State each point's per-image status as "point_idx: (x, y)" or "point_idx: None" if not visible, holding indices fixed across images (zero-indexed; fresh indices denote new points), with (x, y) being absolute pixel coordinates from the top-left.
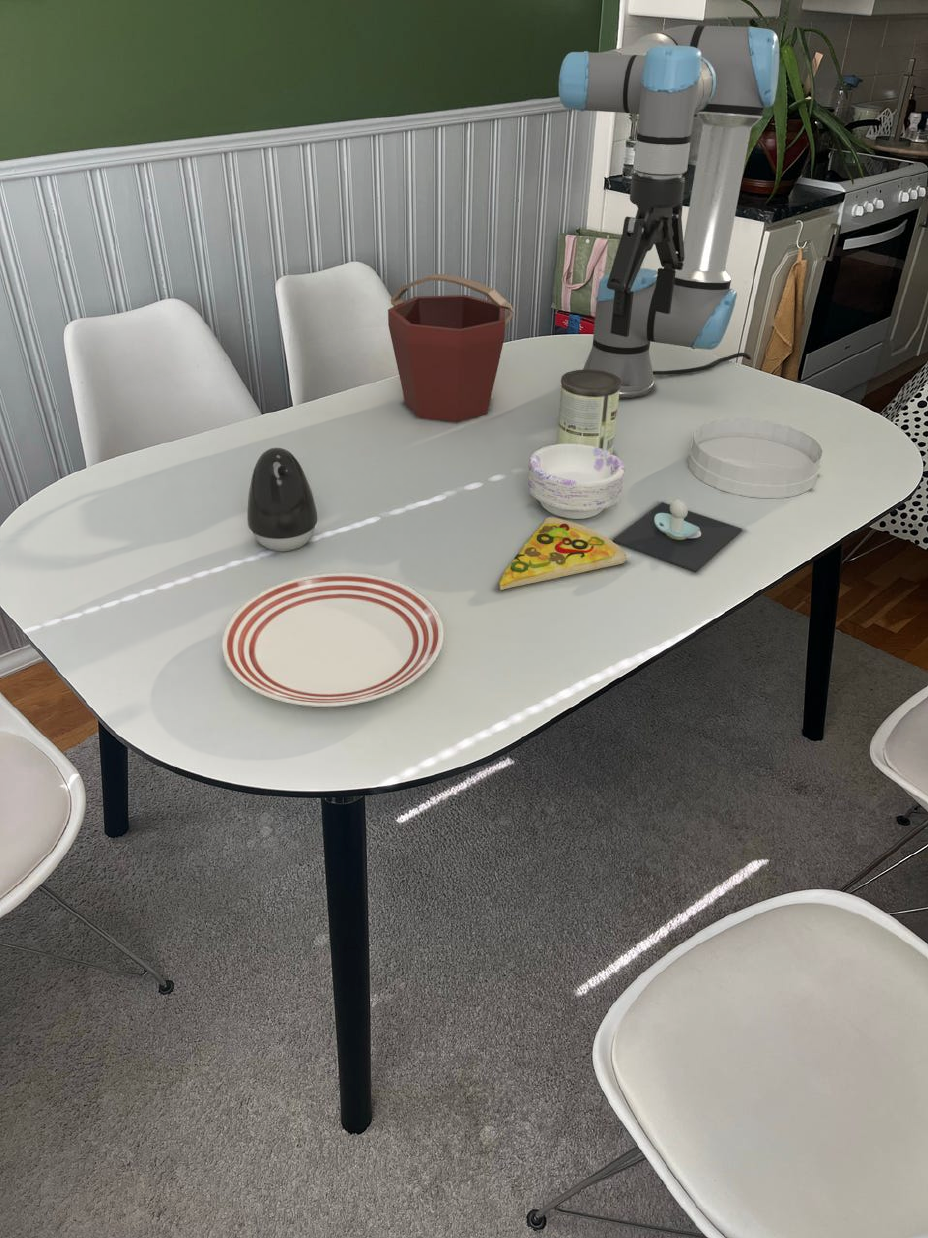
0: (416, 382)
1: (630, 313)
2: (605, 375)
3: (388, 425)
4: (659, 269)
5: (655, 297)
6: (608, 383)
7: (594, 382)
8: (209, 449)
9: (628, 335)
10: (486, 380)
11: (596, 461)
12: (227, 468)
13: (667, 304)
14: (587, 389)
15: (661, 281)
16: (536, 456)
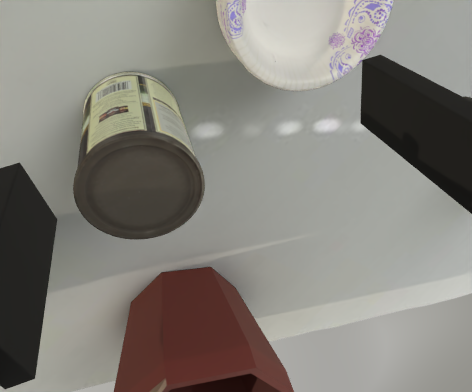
0: (255, 322)
1: (429, 89)
2: (93, 198)
3: (274, 283)
4: (29, 370)
5: (49, 252)
6: (121, 163)
7: (144, 180)
8: (412, 291)
9: (365, 59)
10: (178, 305)
11: (243, 11)
12: (433, 260)
13: (17, 192)
14: (187, 158)
15: (27, 302)
16: (342, 67)
